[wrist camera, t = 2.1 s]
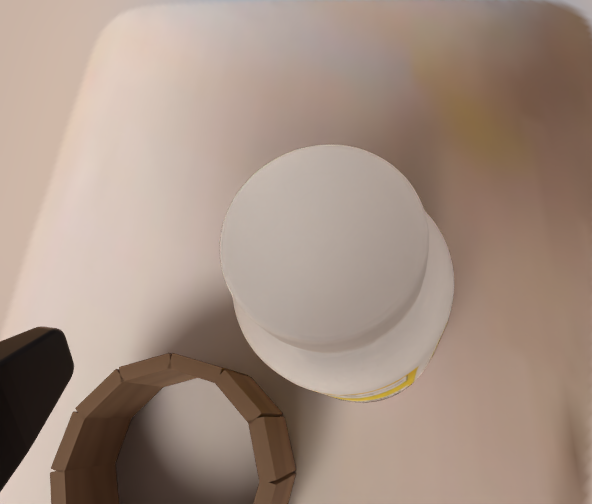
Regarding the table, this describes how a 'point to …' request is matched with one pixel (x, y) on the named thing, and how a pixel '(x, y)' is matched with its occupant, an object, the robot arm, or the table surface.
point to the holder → (137, 393)
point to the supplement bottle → (337, 272)
